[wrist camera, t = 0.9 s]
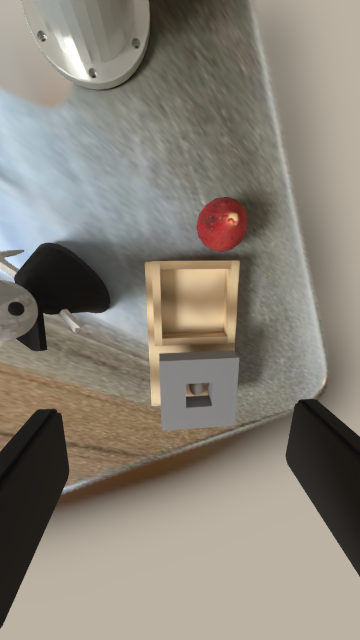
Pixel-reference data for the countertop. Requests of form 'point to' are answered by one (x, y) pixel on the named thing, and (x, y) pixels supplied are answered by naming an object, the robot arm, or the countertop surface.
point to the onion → (222, 224)
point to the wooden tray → (190, 312)
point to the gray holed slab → (191, 370)
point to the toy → (47, 293)
